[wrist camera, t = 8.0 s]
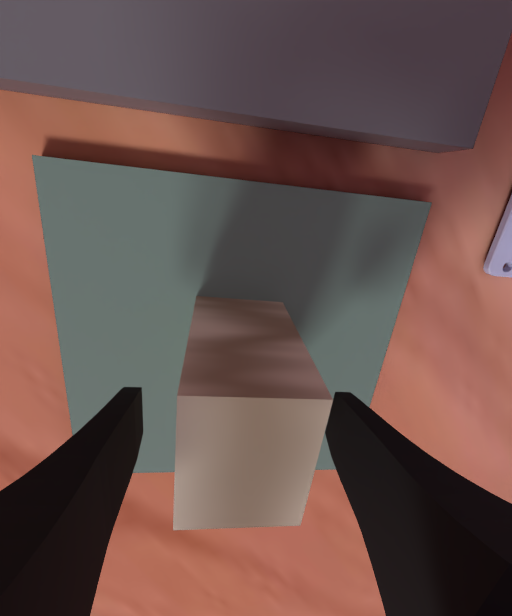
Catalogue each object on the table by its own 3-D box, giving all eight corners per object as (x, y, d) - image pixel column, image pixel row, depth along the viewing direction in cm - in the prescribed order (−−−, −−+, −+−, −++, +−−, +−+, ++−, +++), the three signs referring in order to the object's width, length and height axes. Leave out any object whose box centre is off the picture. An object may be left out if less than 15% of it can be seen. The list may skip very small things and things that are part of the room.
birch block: (282, 302, 15) (332, 399, 8) (268, 389, 16) (300, 525, 10) (196, 296, 14) (176, 395, 8) (191, 387, 16) (173, 530, 9)
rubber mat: (423, 201, 14) (431, 202, 13) (346, 461, 20) (350, 469, 19) (40, 156, 12) (32, 155, 11) (82, 464, 18) (78, 473, 17)
